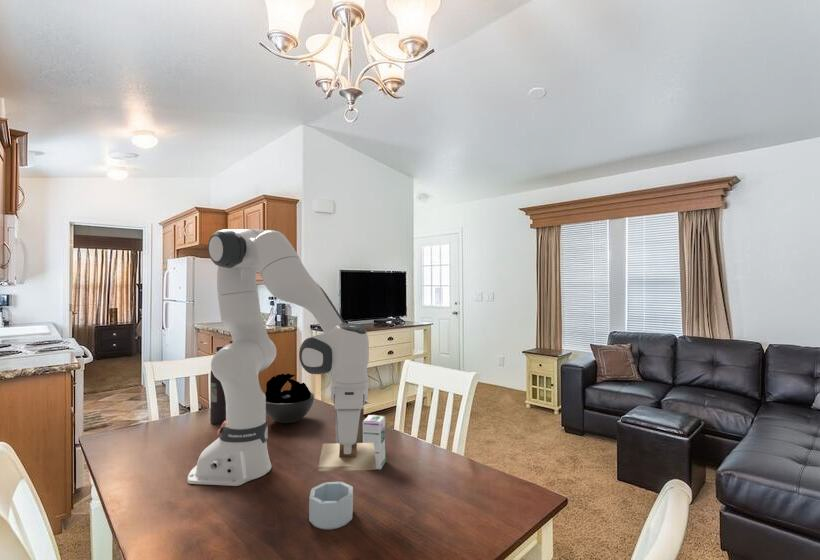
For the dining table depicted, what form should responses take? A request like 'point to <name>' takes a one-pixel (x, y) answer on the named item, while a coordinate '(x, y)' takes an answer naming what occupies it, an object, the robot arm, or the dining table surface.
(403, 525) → the dining table surface
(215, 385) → the wine bottle
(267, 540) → the dining table surface
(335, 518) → the bowl
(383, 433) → the syrup box
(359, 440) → the pillar candle
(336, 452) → the lid
